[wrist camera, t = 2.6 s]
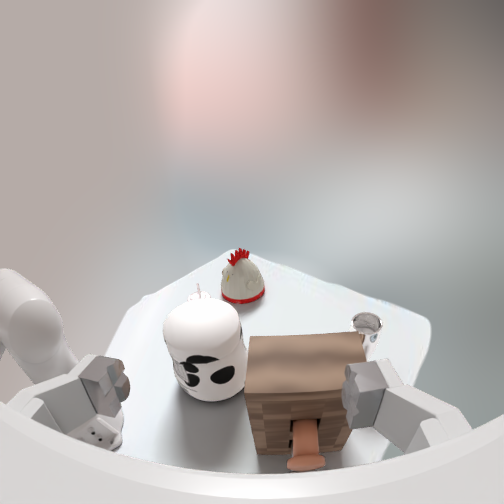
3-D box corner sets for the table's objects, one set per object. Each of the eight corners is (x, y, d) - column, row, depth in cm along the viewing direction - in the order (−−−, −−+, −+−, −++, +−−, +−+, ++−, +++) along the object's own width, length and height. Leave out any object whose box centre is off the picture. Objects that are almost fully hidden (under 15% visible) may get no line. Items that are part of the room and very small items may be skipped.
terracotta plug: (322, 469, 30) (327, 459, 27) (286, 471, 30) (287, 462, 28) (319, 423, 37) (323, 408, 34) (287, 424, 37) (287, 410, 35)
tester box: (341, 450, 41) (373, 385, 29) (257, 454, 42) (243, 392, 31) (336, 409, 49) (358, 331, 38) (259, 412, 51) (249, 336, 39)
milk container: (255, 351, 67) (249, 295, 58) (248, 410, 52) (238, 358, 43) (190, 348, 69) (172, 294, 60) (171, 402, 54) (143, 350, 45)
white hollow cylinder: (341, 356, 62) (351, 310, 55) (369, 358, 60) (382, 312, 53) (339, 378, 56) (350, 333, 49) (368, 380, 54) (384, 335, 47)
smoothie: (221, 325, 76) (212, 284, 70) (202, 336, 73) (191, 295, 66) (208, 314, 81) (199, 275, 74) (190, 324, 77) (179, 285, 71)
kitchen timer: (213, 292, 91) (205, 251, 84) (243, 274, 99) (239, 235, 92) (242, 309, 82) (237, 266, 75) (273, 288, 90) (271, 246, 83)
